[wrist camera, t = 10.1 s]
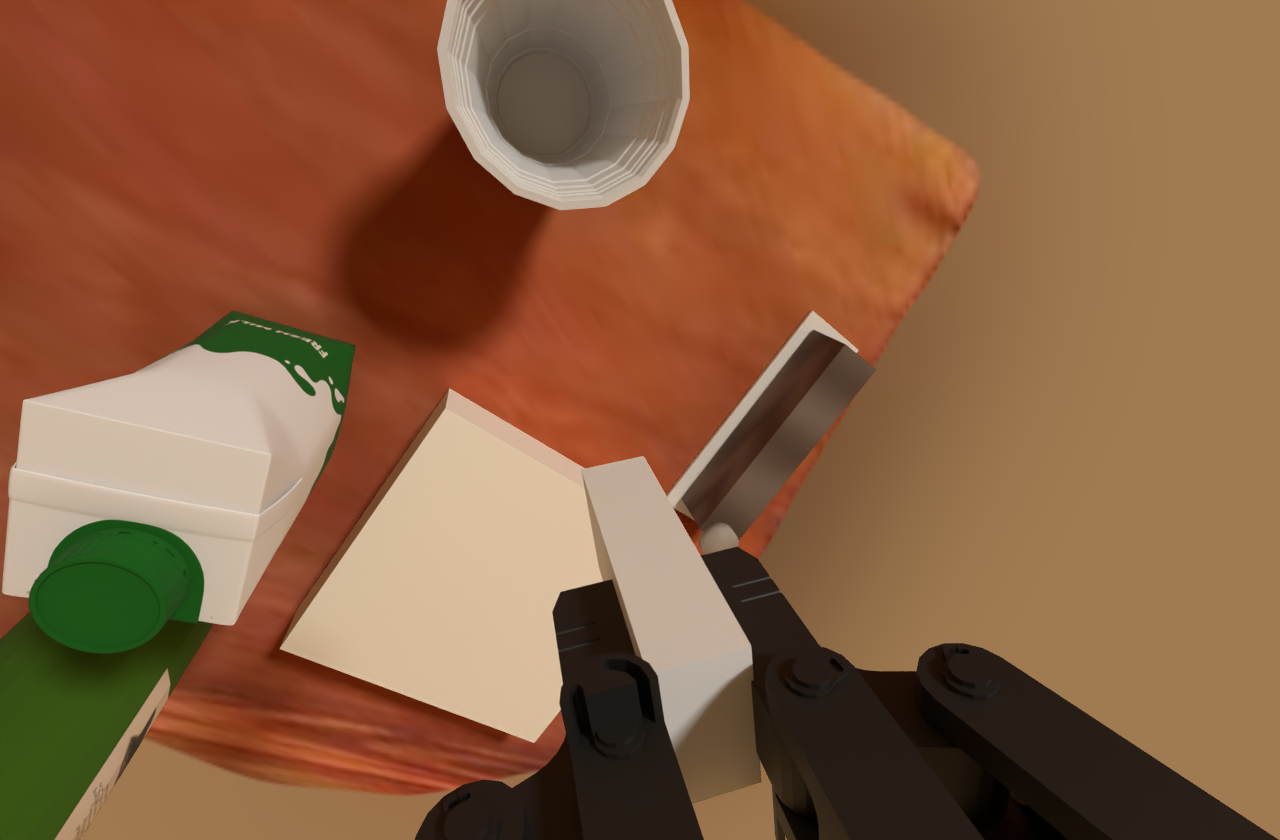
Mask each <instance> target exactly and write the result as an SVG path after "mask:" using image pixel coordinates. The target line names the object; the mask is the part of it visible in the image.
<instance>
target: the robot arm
mask: <svg viewBox="0 0 1280 840" xmlns="http://www.w3.org/2000/svg"><path fill="white" fill-rule="evenodd" d="M581 472H582V477H583V483H584V488H585V494H586V499H587V505H588V510H589V516H590V521H591V527H592V532H593V537H594V543H595V548H596V554H597V559H598V565H599V569H600V573H601V576H602V580H603V582H599V583H595V584H591V585H586V586H582V587H578V588H574V589H570V590H566V591H562V592H560V594H559V597H558V599H557V602H556V604H555V606H554V609H553V611H552V614H553V621H554V627H555V634H556V641H557V648H558V654H559V661H560V668H561V674H562V681H563V685H562V687H561V692H560V701H559V704H560V708H561V713H562V717H563V721H564V725H565V730H566V736H565V740H564V742H563V744H562V745H561V747H560V749H559V751H558V752H557V754H556V755H555V756H554V757H553V758H552V759H551V761H550V762H549V763H548V764H547V765H546V766H544V767H543V768H542V769H541V770H539V771H538V772H537V773H535V774H534V775H532V776H531V777H529V778H528V779H526V780H524V781H523V782H521V783H520V784H518V785H516V786H515V787H513V788H511V787H509V786H507V785H506V784H504V783H503V782H500V781H491V780H480V781H476V782H472V783H468V784H464V785H462V786H460V787H459V788H457V789H456V790H454V791H452V792H451V793H449V794H447V795H446V796H444V797H443V798H442V799H441V800H440V801H439V802H438V803H437V804H436V805H435V806H434V807H433V808H432V810H431V811H430V812H429V813H428V814H427V816H426V818H425V819H424V822H423V823H422V825H421V827H420V829H419V831H418V833H417V835H416V838H415V840H704V839H703V836H702V833H701V830H700V827H699V824H698V821H697V818H696V815H695V812H694V809H693V806H692V803H696V802H699V801H702V800H705V799H708V798H712V797H715V796H718V795H721V794H724V793H728V792H731V791H734V790H737V789H740V788H744V787H747V786H750V785H753V784H756V783H760V782H761V771H760V761H761V763H762V765H763V767H764V769H765V771H766V773H767V775H768V778H769V779H770V782H771V784H772V792H773V806H774V823H775V836H776V840H785V836H786V838H787V840H1278V839H1277V838H1275V837H1274V836H1272V835H1270V834H1269V833H1267V832H1266V831H1264V830H1263V829H1261V828H1260V827H1258V826H1257V825H1255V824H1254V823H1252V822H1251V821H1249V820H1247V819H1246V818H1245V817H1243V816H1242V815H1240V814H1239V813H1237V812H1236V811H1234V810H1232V809H1231V808H1229V807H1228V806H1226V805H1225V804H1223V803H1222V802H1220V801H1219V800H1217V799H1216V798H1214V797H1213V796H1211V795H1210V794H1208V793H1207V792H1205V791H1204V790H1202V789H1200V788H1199V787H1198V786H1196V785H1194V784H1193V783H1191V782H1190V781H1188V780H1187V779H1185V778H1184V777H1182V776H1181V775H1179V774H1178V773H1176V772H1175V771H1173V770H1172V769H1170V768H1169V767H1167V766H1166V765H1164V764H1163V763H1161V762H1160V761H1158V760H1156V759H1155V758H1153V757H1152V756H1150V755H1149V754H1147V753H1146V752H1144V751H1143V750H1141V749H1140V748H1138V747H1137V746H1135V745H1134V744H1132V743H1131V742H1129V741H1128V740H1126V739H1125V738H1123V737H1121V736H1120V735H1118V734H1117V733H1115V732H1114V731H1112V730H1111V729H1109V728H1108V727H1106V726H1105V725H1103V724H1102V723H1100V722H1099V721H1097V720H1096V719H1094V718H1092V717H1091V716H1090V715H1088V714H1087V713H1085V712H1083V711H1082V710H1080V709H1079V708H1077V707H1076V706H1074V705H1073V704H1071V703H1070V702H1068V701H1067V700H1065V699H1063V698H1062V697H1061V696H1059V695H1058V694H1056V693H1054V692H1053V691H1052V690H1050V689H1048V688H1047V687H1045V686H1044V685H1042V684H1041V683H1039V682H1038V681H1036V680H1035V679H1033V678H1032V677H1030V676H1029V675H1027V674H1026V673H1024V672H1023V671H1021V670H1020V669H1018V668H1017V667H1015V666H1014V665H1012V664H1011V663H1009V662H1007V661H1006V660H1004V659H1003V658H1001V657H999V656H997V655H995V654H993V653H991V652H989V651H987V650H985V649H983V648H980V647H976V646H971V645H967V644H963V643H959V644H958V643H951V644H950V643H949V644H941V645H938V646H935V647H932V648H929V649H928V650H927V651H926V652H925V653H924V654H923V655H922V656H921V657H920V658H919V661H918V667H917V671H916V672H915V671H910V672H909V671H906V672H904V671H898V672H896V671H895V672H894V671H893V672H892V671H887V672H885V671H883V672H880V671H868V670H862V669H858V668H855V667H854V666H853V665H852V664H851V663H850V662H849V661H848V660H846V659H845V657H843V656H842V655H840V654H838V653H836V652H834V651H832V650H829V649H827V648H824V647H820V645H819V644H818V643H817V642H816V640H815V639H814V638H813V636H812V635H811V633H810V632H809V630H808V629H807V628H806V626H805V625H804V623H803V622H802V621H801V619H800V618H799V616H798V615H797V614H796V612H795V611H794V609H793V608H792V607H791V605H790V604H789V602H788V601H787V600H786V598H785V597H784V595H783V594H782V593H780V591H779V588H778V587H777V586H776V584H775V583H774V581H773V580H772V579H770V577H769V574H768V573H767V572H766V570H765V569H764V567H763V566H762V565H761V563H760V562H759V560H758V559H757V558H755V557H754V556H752V555H750V554H749V553H747V552H745V551H744V550H742V549H740V548H738V547H734V548H729V549H725V550H721V551H717V552H713V553H709V554H705V555H701V556H700V554H699V553H698V551H697V549H696V547H695V546H694V544H693V542H692V540H691V539H690V537H689V535H688V533H687V531H686V530H685V528H684V526H683V524H682V523H681V521H680V519H679V517H678V516H677V514H676V512H675V510H674V509H673V507H672V505H671V503H670V502H669V500H668V498H667V496H666V494H665V493H664V491H663V489H662V487H661V486H660V484H659V482H658V480H657V479H656V477H655V475H654V473H653V472H652V470H651V468H650V466H649V465H648V463H647V461H646V459H645V458H644V456H642V457H637V458H632V459H628V460H623V461H618V462H614V463H609V464H605V465H600V466H595V467H591V468H586V469H581Z"/></svg>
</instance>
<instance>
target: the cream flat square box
mask: <svg viewBox="0 0 1280 840" xmlns="http://www.w3.org/2000/svg"><path fill="white" fill-rule="evenodd" d="M581 469H585V468H583V467H581V466H580V465H578V464H576V463H575V462H573V461H571V460H570V459H568V458H566V457H565V456H563V455H561V454H560V453H558V452H556V451H554V450H553V449H551V448H549V447H548V446H546V445H544V444H543V443H541V442H539V441H538V440H536V439H534V438H532V437H531V436H529V435H527V434H526V433H524V432H522V431H521V430H519V429H517V428H516V427H514V426H512V425H511V424H509V423H507V422H505V421H504V420H502V419H500V418H499V417H497V416H495V415H494V414H492V413H490V412H489V411H487V410H485V409H484V408H482V407H480V406H478V405H477V404H475V403H473V402H472V401H470V400H468V399H467V398H465V397H463V396H462V395H460V394H458V393H456V392H455V391H453V390H451V389H450V388H449V389H448V391H447V392H446V394H445V395H444V397H443V398H442V400H441V401H440V403H439V404H438V405H437V407H436V408H435V410H434V411H433V413H432V414H431V416H430V417H429V419H428V420H427V421H426V423H425V424H424V426H423V427H422V429H421V430H420V432H419V433H418V435H417V436H416V437H415V439H414V440H413V442H412V443H411V445H410V446H409V448H408V449H407V451H406V452H405V454H404V455H403V456H402V458H401V459H400V461H399V462H398V464H397V465H396V467H395V468H394V470H393V471H392V472H391V474H390V475H389V477H388V478H387V480H386V481H385V483H384V484H383V486H382V487H381V488H380V490H379V491H378V493H377V494H376V496H375V497H374V499H373V500H372V502H371V503H370V504H369V506H368V507H367V509H366V510H365V512H364V513H363V515H362V516H361V518H360V519H359V520H358V522H357V523H356V525H355V526H354V528H353V529H352V531H351V532H350V534H349V535H348V536H347V538H346V539H345V541H344V542H343V544H342V545H341V547H340V548H339V550H338V551H337V552H336V554H335V555H334V557H333V558H332V560H331V561H330V563H329V564H328V566H327V567H326V568H325V570H324V571H323V573H322V574H321V576H320V577H319V579H318V580H317V582H316V583H315V584H314V586H313V587H312V589H311V590H310V592H309V593H308V595H307V596H306V598H305V599H304V600H303V602H302V603H301V605H300V606H299V608H298V609H297V611H296V613H295V615H294V617H293V620H292V622H291V624H290V626H289V629H288V631H287V633H286V635H285V637H284V640H283V642H282V644H281V646H280V649H281V650H284V651H286V652H289V653H292V654H294V655H297V656H300V657H303V658H305V659H308V660H311V661H313V662H316V663H319V664H322V665H324V666H327V667H330V668H332V669H335V670H338V671H341V672H343V673H346V674H349V675H351V676H354V677H357V678H360V679H362V680H365V681H368V682H370V683H373V684H376V685H379V686H381V687H384V688H387V689H389V690H392V691H395V692H398V693H400V694H403V695H406V696H408V697H411V698H414V699H417V700H419V701H422V702H425V703H427V704H430V705H433V706H436V707H438V708H441V709H444V710H446V711H449V712H452V713H454V714H457V715H460V716H463V717H465V718H468V719H471V720H473V721H476V722H479V723H482V724H484V725H487V726H490V727H492V728H495V729H498V730H501V731H503V732H506V733H509V734H511V735H514V736H517V737H520V738H522V739H525V740H528V741H530V742H533V743H534V742H535V741H536V740H537V739H538V737H539V736H540V735H541V734H542V733H543V731H544V730H545V729H546V728H547V726H548V725H549V724H550V723H551V721H552V720H553V719H554V718H555V716H556V715H557V714H558V713H559V711H560V710H561V708H560V704H559V701H560V692H561V687H562V685H563V681H562V674H561V668H560V661H559V654H558V648H557V641H556V634H555V627H554V621H553V614H552V611H553V609H554V606H555V604H556V602H557V599H558V597H559V594H560V592H562V591H566V590H570V589H574V588H578V587H582V586H586V585H591V584H595V583H599V582H603V580H602V576H601V573H600V569H599V565H598V559H597V554H596V548H595V543H594V537H593V532H592V527H591V521H590V516H589V510H588V505H587V499H586V494H585V488H584V483H583V477H582V472H581Z"/></svg>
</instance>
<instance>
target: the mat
mask: <svg viewBox="0 0 1280 840" xmlns="http://www.w3.org/2000/svg"><path fill="white" fill-rule="evenodd" d="M812 330H816V331H818V332H820V333H822V334H824V335H827V336H829V337H831V338H833V339H835V340H838V341H840V342H842V343H844V344H846V345H847V346H848V347H850V348H851V349H852V350H853V351H854V352H856V353H857V352H858V349H857V348H855V347H854V346H853V345H852V344H851V343H850V342H849V341H847V340H846V339H845V338H844V337H843V336H842V335H840V334H839V333H838V332H837V331H836V330H835V329H833V328H832V327H831V326H830V325H829V324H828V323H827V322H825V321H824V320H823V319H822V318H821V317H820V316H818V315H817V314H816V313H815V312H814V311H812V310H810V312H809V313H808V314H807V316H806V317H805V318H804V319H803V321H802V322H801V323H800V325H799V326H798V327H797V328H796V330H795V331H794V332H793V333H792V335H791V336H790V337H789V339H788V340H787V341H786V342H785V344H784V345H783V346H782V348H781V349H780V350H779V351H778V353H777V354H776V355H775V356H774V358H773V359H772V360H771V362H770V363H769V364H768V365H767V367H766V368H765V369H764V371H763V372H762V373H761V374H760V376H759V377H758V378H757V379H756V381H755V382H754V383H753V385H752V386H751V387H750V388H749V390H748V391H747V392H746V394H745V395H744V396H743V397H742V399H741V400H740V401H739V403H738V404H737V405H736V406H735V408H734V409H733V410H732V411H731V413H730V414H729V415H728V417H727V418H726V419H725V420H724V422H723V423H722V424H721V426H720V427H719V428H718V429H717V431H716V432H715V433H714V434H713V436H712V437H711V438H710V440H709V441H708V442H707V443H706V445H705V446H704V447H703V449H702V450H701V451H700V452H699V454H698V455H697V456H696V458H695V459H694V460H693V461H692V463H691V464H690V465H689V466H688V468H687V469H686V470H685V472H684V473H683V474H682V475H681V477H680V478H679V479H678V481H677V482H676V483H675V484H674V486H673V487H672V488H671V489H670V491H669V492H668V493H667V495H666V496H667V498H668V500H669V502H670V503H671V505H672V507H673V508H675V509H676V510H678V511H680V512H681V513H683V514H685V515H686V516H688V517H690V518H691V519H693V517H692V515H691V514H690V512H689V510H688V509H687V507H686V505H685V504H684V502H683V501H682V498H683V497H684V495H685V494H686V493H687V491H688V490H689V489H690V488H691V486H692V485H693V484H694V482H695V481H696V480H697V479H698V477H699V476H700V475H701V473H702V472H703V471H704V470H705V468H706V467H707V466H708V464H709V463H710V462H711V461H712V459H713V458H714V457H715V455H716V454H717V453H718V451H719V450H720V449H721V448H722V446H723V445H724V444H725V442H726V441H727V440H728V439H729V437H730V436H731V435H732V433H733V432H734V431H735V430H736V428H737V427H738V426H739V424H740V423H741V422H742V421H743V419H744V418H745V417H746V415H747V414H748V413H749V412H750V410H751V409H752V408H753V406H754V405H755V404H756V403H757V401H758V400H759V399H760V397H761V396H762V395H763V394H764V392H765V391H766V390H767V388H768V387H769V386H770V385H771V383H772V382H773V381H774V379H775V378H776V377H777V376H778V374H779V373H780V372H781V370H782V369H783V368H784V367H785V365H786V364H787V363H788V361H789V360H790V359H791V358H792V356H793V355H794V354H795V352H796V351H797V350H798V348H799V347H800V346H801V345H802V343H803V342H804V341H805V339H806V338H807V337H808V336H809V334H810V333H811V332H812ZM693 520H694V519H693ZM694 521H695V520H694Z"/></svg>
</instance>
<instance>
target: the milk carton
mask: <svg viewBox="0 0 1280 840" xmlns="http://www.w3.org/2000/svg"><path fill="white" fill-rule="evenodd" d="M354 351H355V345H352V344H349V343H345V342H341V341H338V340H334V339H331V338H327V337H324V336H320V335H317V334H313V333H310V332H306V331H303V330H299V329H296V328H292V327H289V326H285V325H282V324H278V323H274V322H271V321H267V320H264V319H260V318H257V317H253V316H250V315H246V314H243V313H239V312H236V311H231V312H230V313H229V314H227V315H226V316H225V317H223V318H222V319H221V320H220V321H218V322H217V323H216V324H214V325H213V326H212V327H210V328H209V329H208V330H207V331H205V332H204V333H203V334H201V335H200V336H199V337H197V338H196V339H195V340H194V341H192V342H190V343H189V344H187V345H185V346H183V347H181V348H179V349H178V350H176V351H174V352H172V353H170V354H168V355H166V356H165V357H163V358H161V359H159V360H157V361H155V362H153V363H152V364H150V365H148V366H146V367H144V368H142V369H140V370H138V371H137V372H135V373H133V374H129V375H125V376H121V377H117V378H113V379H109V380H106V381H102V382H97V383H93V384H89V385H85V386H81V387H77V388H73V389H68V390H64V391H60V392H56V393H52V394H48V395H43V396H39V397H35V398H31V399H26V400H23V405H22V414H21V424H20V434H19V444H18V454H17V461H16V462H15V463H14V465H13V466H12V468H11V470H10V476H9V485H8V496H9V509H8V521H7V533H6V546H5V558H4V571H3V584H2V593H3V594H6V595H11V596H18V597H28V598H29V608H30V612H31V615H32V617H33V619H34V621H35V622H36V624H37V625H38V626H39V627H40V629H41V630H42V631H43V632H44V633H46V634H47V635H48V636H49V637H51V638H52V639H54V640H55V641H57V642H59V643H61V644H63V645H65V646H67V647H70V648H73V649H76V650H79V651H84V652H89V653H101V654H108V653H118V652H123V651H127V650H131V649H134V648H136V647H138V646H141V645H142V644H144V643H146V642H147V641H149V640H151V639H152V638H153V637H154V636H155V635H157V634H158V632H159V631H160V630H161V629H162V627H163V626H164V625H165V624H166V622H167V621H168V620H175V621H181V622H187V623H194V624H197V623H198V621H203V622H209V623H214V624H221V625H234V624H235V623H236V621H237V619H238V617H239V615H240V613H241V611H242V609H243V607H244V606H245V604H246V602H247V600H248V599H249V597H250V595H251V594H252V592H253V590H254V588H255V587H256V585H257V583H258V582H259V580H260V578H261V576H262V575H263V573H264V571H265V569H266V568H267V566H268V564H269V563H270V561H271V559H272V557H273V556H274V554H275V552H276V551H277V549H278V547H279V545H280V544H281V542H282V540H283V539H284V537H285V536H286V534H287V532H288V531H289V529H290V527H291V526H292V524H293V522H294V520H295V519H296V517H297V515H298V513H299V512H300V510H301V508H302V507H303V505H304V503H305V501H306V500H307V498H308V496H309V494H310V493H311V491H312V489H313V487H314V486H315V484H316V482H317V480H318V479H319V477H320V475H321V473H322V472H323V470H324V468H325V466H326V465H327V463H328V461H329V459H330V457H331V455H332V452H333V450H334V446H335V443H336V440H337V437H338V433H339V430H340V426H341V422H342V419H343V415H344V411H345V406H346V400H347V395H348V389H349V382H350V375H351V368H352V362H353V356H354Z"/></svg>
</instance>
